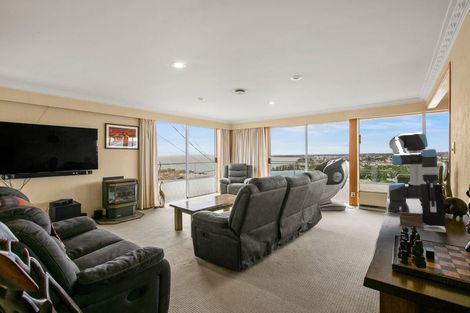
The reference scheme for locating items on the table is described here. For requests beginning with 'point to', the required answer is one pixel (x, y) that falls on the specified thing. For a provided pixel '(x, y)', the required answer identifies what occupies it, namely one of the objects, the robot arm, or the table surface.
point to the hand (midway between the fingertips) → (432, 210)
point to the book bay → (410, 219)
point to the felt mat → (434, 228)
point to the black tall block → (429, 216)
